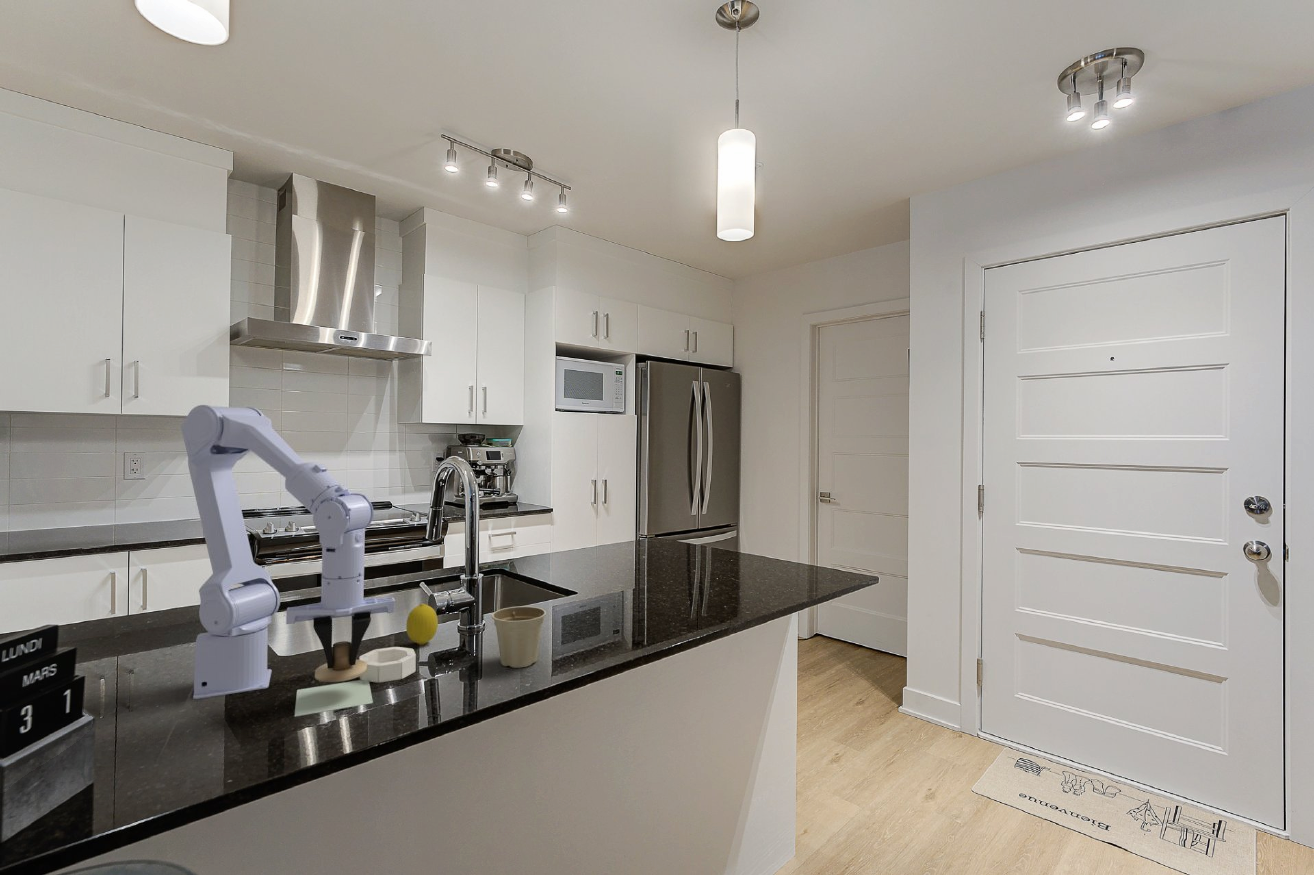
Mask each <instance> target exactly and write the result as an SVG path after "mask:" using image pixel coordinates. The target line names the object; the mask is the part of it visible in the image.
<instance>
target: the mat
mask: <svg viewBox="0 0 1314 875" xmlns="http://www.w3.org/2000/svg"><path fill="white" fill-rule="evenodd" d="M371 690H372V689H371V685H370V681H367V680H360V679H358V680H352V681H347V682H345V681H344V682H341V683H339V682H337V683H333V684H326V685H320V686H314V687H306V688H300V689H297V690H296V697H295V698H296V699H295V706H294V707H295V709H294V717H295V718H297V717H301V716H308V715H314V714H318V713H319V714H320V713H324V712H330V711H336V710H341V709H342V710H343V709H348V708H353V707H358V706H363V705H364V706H365V705H370V704H373V703H374V700H373V697H372V696H373V695H372V691H371Z"/></svg>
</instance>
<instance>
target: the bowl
mask: <svg viewBox="0 0 1314 875" xmlns="http://www.w3.org/2000/svg"><path fill="white" fill-rule="evenodd" d="M358 658H359V659H358V660H362V661H365V662H366V663H367V671H366V672H365V673H364V674H363V675H361V676H359V680H367V681H369V683H372V682H373V683H384V682H385V683H386V682H390V681H391V682H392V681H398V680H401V679H402V680H403V679H404V678H406V677H408V676H410V675H411V674H413V673H415V672H416V671H417V670H416V669H417V666H416V664H417V662H416V661H417V655H416V652H415V650H414V649H413V648H410V647H403V646H401V647H400V646H391V647H382V648H375V649H373V650H370V651H368V652H366V653H364V654H361V655H360V656H359V657H358Z"/></svg>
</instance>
